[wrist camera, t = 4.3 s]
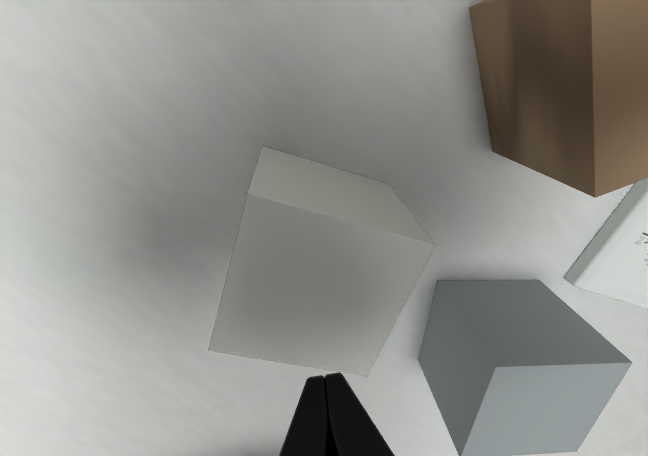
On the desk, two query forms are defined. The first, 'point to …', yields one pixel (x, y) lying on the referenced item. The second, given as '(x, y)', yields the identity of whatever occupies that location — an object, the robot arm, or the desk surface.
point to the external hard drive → (618, 253)
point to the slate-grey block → (515, 368)
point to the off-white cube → (318, 267)
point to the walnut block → (567, 87)
